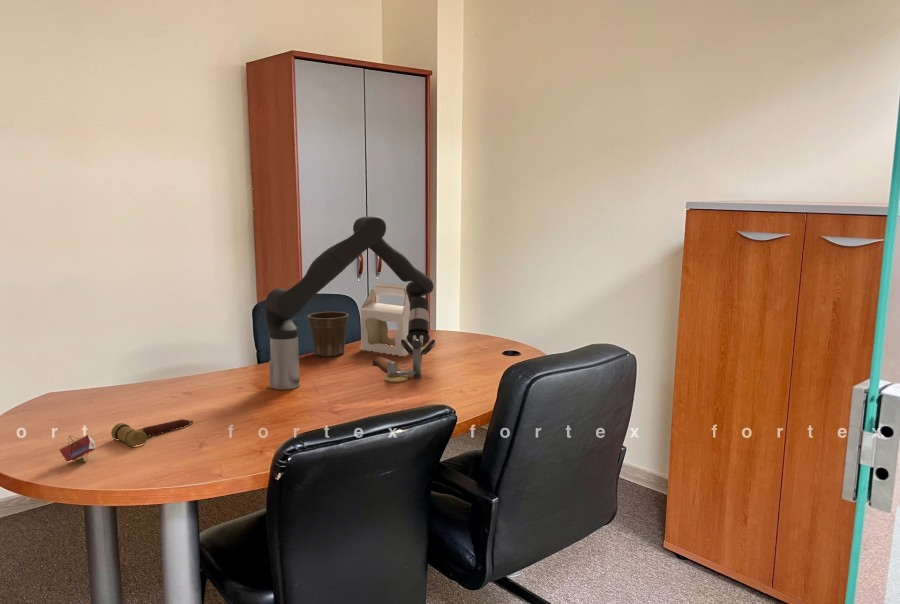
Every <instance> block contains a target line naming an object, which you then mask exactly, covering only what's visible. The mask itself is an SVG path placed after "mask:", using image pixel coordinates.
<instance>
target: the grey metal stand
mask: <svg viewBox="0 0 900 604" xmlns="http://www.w3.org/2000/svg"><path fill="white" fill-rule="evenodd" d="M412 347H413V355H412V370H411V369H410V370H400V371H397V365H398V362H397V361H394V362H388V363H387V373H386V374H385V375H384V381H386V382H388V383H392V384H393V383H394V384H398V383H404V382H407V381H408V380H409V376H410V375H411V376H412V378H413V379H421V378H422V362H421V347H422V342H421V341H420V340H418V339H416V340H414V341H413V342H412Z"/></svg>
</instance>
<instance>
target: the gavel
mask: <svg viewBox="0 0 900 604" xmlns="http://www.w3.org/2000/svg"><path fill="white" fill-rule="evenodd" d="M190 423H192V424H193V423H194V420H193V419H184V418H182V419H178V420H172V421H169V422H168V421H167V422H163V423H158V424H154V425H149V426H144V427H143V428H139V429H134V428H133V427H131V426H130V425H128V424H126V423H123V422H120V423H117V424H115V425H114V426H113V428H111V429H112V430H111V432H110V434H111V438H112V439H114V438H115V439H119V440H121V441H120V442H123V443H125V442H126V444H127V445H128V446H129V445H130V446H129V447H131V446H132V447H131V448H133V446H136V445H140V444H143V443H145V444H146V442H147V440H148V437H150V436H149V435H151V436H154V435H153V434H156V435H159V434H158V433H160V434H162V433H161V432H165V433H167V432H166V431H169V432H171V431H170V430H173V429H176V428H180V427H184V426H186V425H188V426H190V425H191V424H190ZM189 424H190V425H189ZM186 427H187V426H186ZM184 428H185V427H184ZM180 429H181V428H180ZM173 431H174V430H173ZM115 439H114V440H115Z"/></svg>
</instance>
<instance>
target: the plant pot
mask: <svg viewBox="0 0 900 604" xmlns="http://www.w3.org/2000/svg"><path fill="white" fill-rule="evenodd" d="M348 317H349V313H346V312H343V311H342V312H341V311H321V312H313V313H310V314H308V315H307V318H308V322H309V327H310V330H311V336H312V337H311V339H312V345H313V354H314V355H315V356H317V357H318V356H321V357H327V358H328V357H336V356H340V355H344V354H345V344H346V342H345V341H346V329H347V328H346V327H347V324H348Z"/></svg>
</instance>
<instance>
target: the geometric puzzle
mask: <svg viewBox="0 0 900 604" xmlns="http://www.w3.org/2000/svg"><path fill="white" fill-rule="evenodd" d="M75 436H78V435H71V436H68V440H70V439H71V441H68V443H67V445H64V444H65V443H63V444H62V446H63V447H60V449H59V451H60V453H61V455H62V457H63V458H64V460H65V462H67V461H70V460H74V461H75V460H76V461H79V459H80V458H81V459H83V458H84V455H85V456H88V455H89V454H90V453H91V454H90V455H92V454H93V453H92V452H93V451H95V450H96V442H95V440H94V439H93V438H91V436H89V435H88V434H85V435H84V436H82V437H79V438H78V437H75ZM72 438H75V439H76V440H74V439H72ZM89 458H90V456H89ZM89 458H88V457H86V459H85V461H88V459H89ZM77 459H78V460H77Z"/></svg>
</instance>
